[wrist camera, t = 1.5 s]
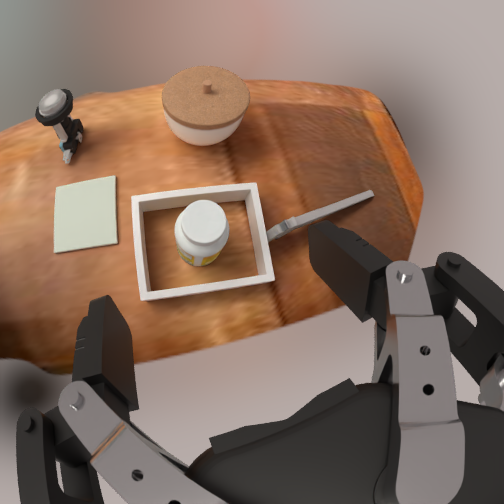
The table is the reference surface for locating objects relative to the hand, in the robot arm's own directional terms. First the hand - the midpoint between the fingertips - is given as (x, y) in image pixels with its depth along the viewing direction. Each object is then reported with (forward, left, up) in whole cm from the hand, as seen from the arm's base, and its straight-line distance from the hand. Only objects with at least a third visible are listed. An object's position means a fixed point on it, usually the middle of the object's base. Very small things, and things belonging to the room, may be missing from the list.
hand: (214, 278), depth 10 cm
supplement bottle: (+5, +4, -23) cm, 24 cm away
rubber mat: (-1, +18, -22) cm, 29 cm away
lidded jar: (+19, +14, -23) cm, 32 cm away
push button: (+5, +28, -23) cm, 36 cm away
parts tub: (+5, +4, -22) cm, 23 cm away
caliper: (+19, -7, -23) cm, 31 cm away
